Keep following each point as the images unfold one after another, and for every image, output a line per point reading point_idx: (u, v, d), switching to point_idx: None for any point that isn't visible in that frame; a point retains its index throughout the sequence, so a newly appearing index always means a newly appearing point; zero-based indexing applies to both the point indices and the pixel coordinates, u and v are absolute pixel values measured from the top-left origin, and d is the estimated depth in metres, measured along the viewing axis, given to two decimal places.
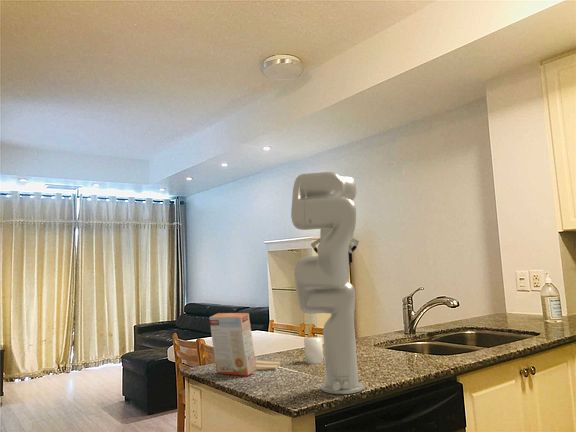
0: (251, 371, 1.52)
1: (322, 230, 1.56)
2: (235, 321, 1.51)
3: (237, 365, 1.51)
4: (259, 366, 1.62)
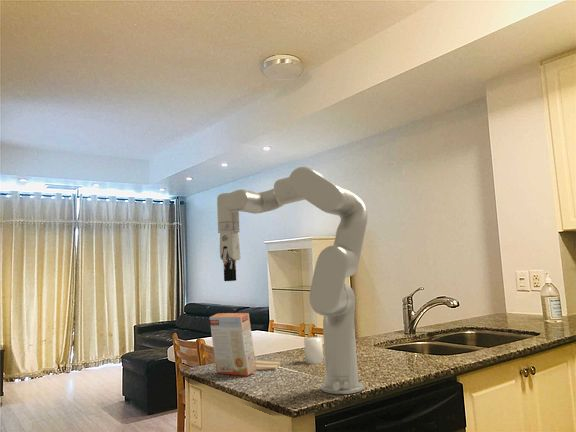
0: (251, 371, 1.52)
1: (232, 239, 1.48)
2: (235, 321, 1.51)
3: (237, 365, 1.51)
4: (259, 366, 1.62)
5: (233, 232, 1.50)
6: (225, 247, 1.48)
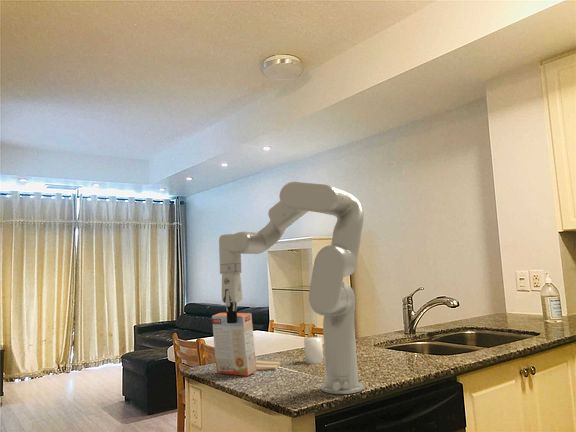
0: (251, 371, 1.52)
1: (234, 282, 1.47)
2: (237, 320, 1.51)
3: (238, 365, 1.52)
4: (259, 366, 1.62)
5: (235, 274, 1.49)
6: (227, 290, 1.47)
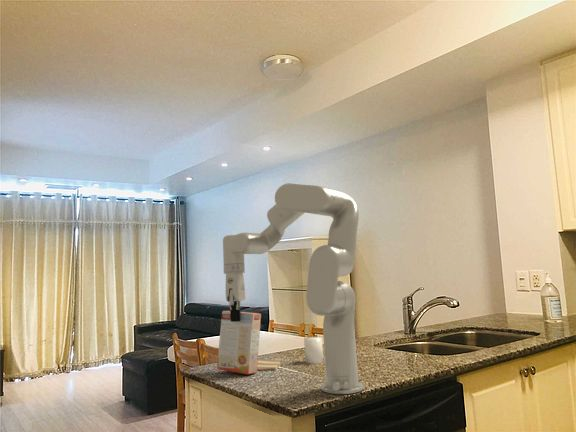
0: (252, 371, 1.52)
1: (238, 281, 1.52)
2: (247, 317, 1.54)
3: (240, 362, 1.52)
4: (259, 366, 1.62)
5: (239, 274, 1.53)
6: (231, 289, 1.52)
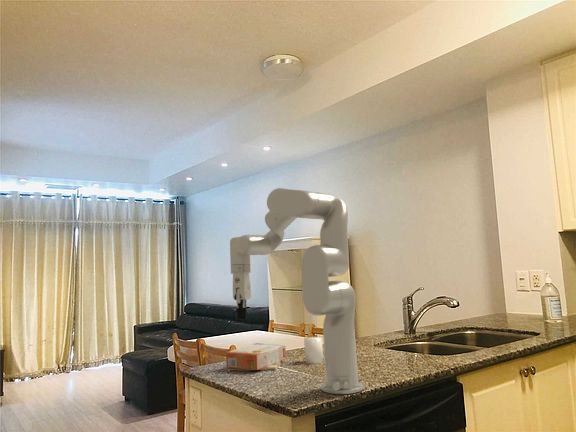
0: (257, 361, 1.56)
1: (244, 281, 1.61)
2: (279, 345, 1.73)
3: (253, 352, 1.60)
4: None
5: (245, 274, 1.62)
6: (238, 288, 1.61)
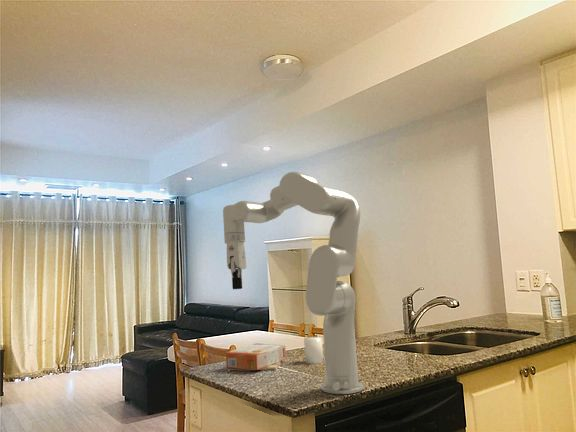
0: (257, 360, 1.56)
1: (239, 249, 1.55)
2: (279, 345, 1.73)
3: (253, 351, 1.60)
4: None
5: (239, 242, 1.56)
6: (232, 257, 1.54)
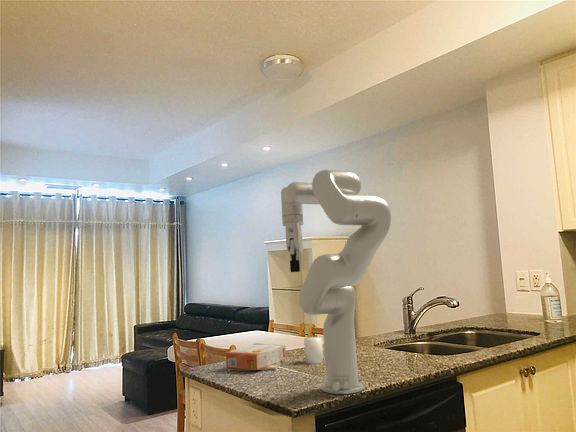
0: (257, 360, 1.56)
1: (298, 231, 1.52)
2: (279, 345, 1.73)
3: (253, 351, 1.60)
4: None
5: (298, 224, 1.54)
6: (291, 239, 1.52)
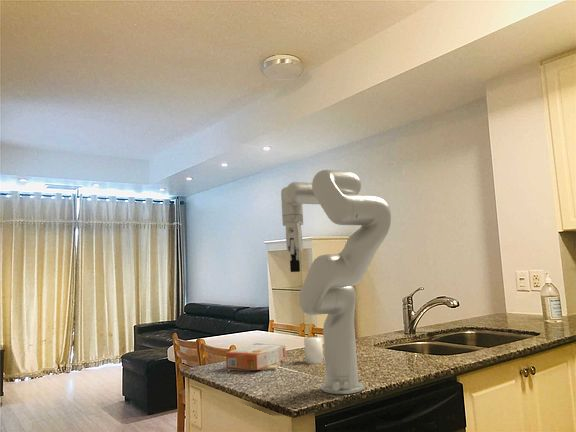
0: (257, 360, 1.56)
1: (298, 231, 1.52)
2: (279, 345, 1.73)
3: (253, 351, 1.60)
4: None
5: (298, 224, 1.54)
6: (291, 239, 1.52)
